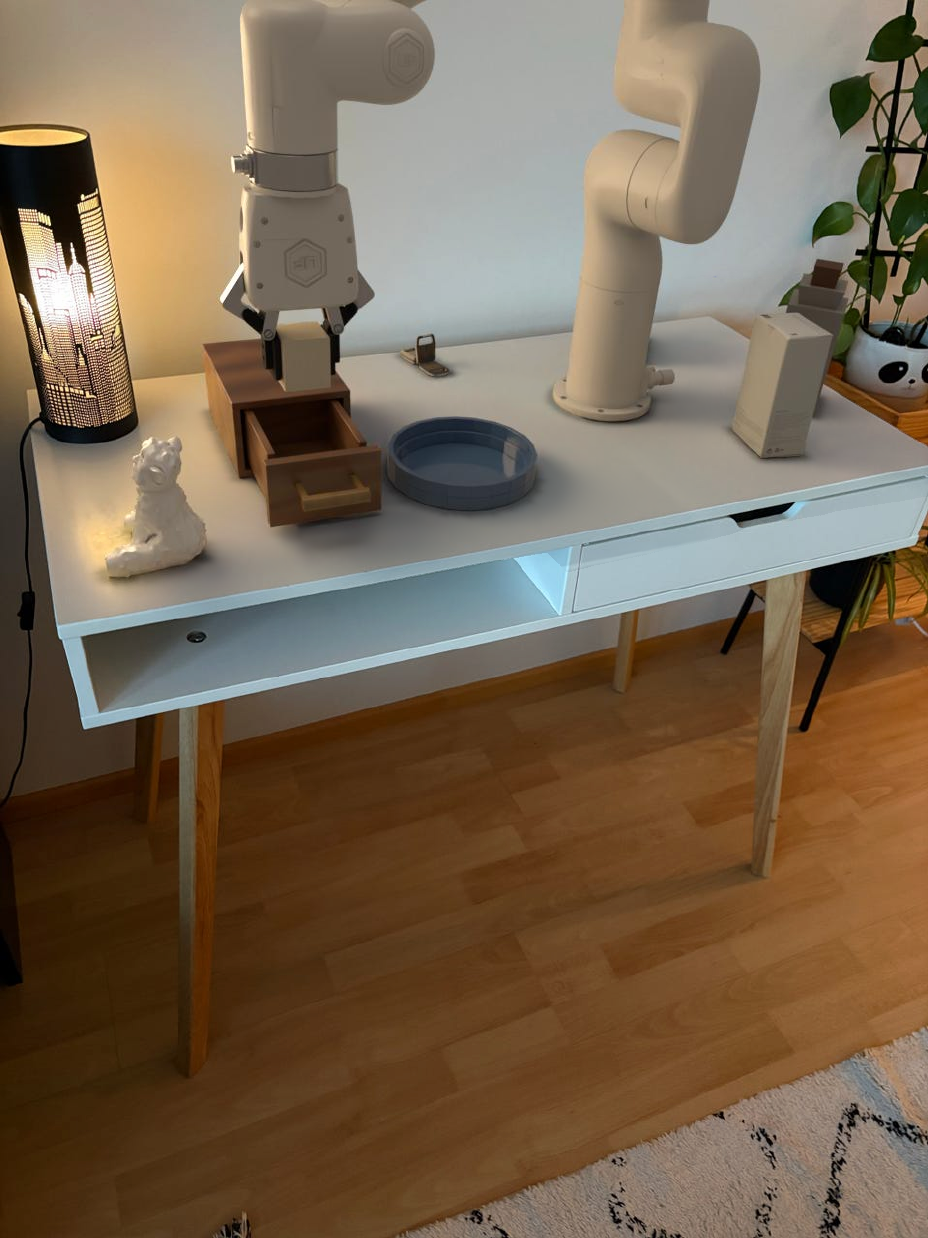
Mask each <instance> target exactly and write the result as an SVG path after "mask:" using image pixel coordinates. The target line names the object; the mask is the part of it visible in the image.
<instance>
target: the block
mask: <svg viewBox="0 0 928 1238" xmlns="http://www.w3.org/2000/svg"><path fill="white" fill-rule="evenodd" d="M276 331H277V337H278V338H279V340H280V342H281V355H282V374H283V379H281V380H280V381H279V382H280V384H281V386H282V387H283V389H284V391H285V392H293V391H303V390H313V389H322V388H331V366H330V337H329V336H328V335H327V333H326V332H325V331H324V330H323V328H322V327H321V324H320V322H318V320H314V321H299V322H287V323H277V328H276Z"/></svg>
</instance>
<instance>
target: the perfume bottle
mask: <svg viewBox="0 0 928 1238" xmlns="http://www.w3.org/2000/svg"><path fill="white" fill-rule="evenodd" d="M844 265H845V264H844V262H841V261H833V260H828V259H827V260H826V259H823V258H816V260H815V263H814V265H813V270H812V274H810V273H805V272H804V273H803V275H802V277H801V279H800V282H799V285H798V288H794V289H793V290H792V293H791V296H790V299H789V301H788V303H787V306H786V311H785V313H799V314H801V315H802V316H804V317H805V318H807V319H808V320H810V321H811V322H813V323H814V324H816V325H818V326H819V327H821V328H822V329H824V330H826V331H828V332H829V333H831V334H832V335H833V337H832V340H831V344H830V348H829V352H828V356H827V360H826V364H825V368H824V372H823V376H822V380H821V384H820V388H819V392H818V396H817V400H816V404H815V408H814V412H813V416H812V418H815V417H814V416H815V414H816V410H817V407H818V403H819V401H820V397H821V394H822V391H823V387H824V384H825V382H826V381H825V380H826V377H827V374H828V371H829V368H830V364H831V361H832V357H833V354H834V350H835V348H836V344H837V341H838V338H839V335H840V331H841V327H842V324H843V321H844V318H845V314H846V311H847V307H848V303H849V299H850V298H849V297H844V296H845V294H846V290H847V287H848V283H849V280H845V279H840V277H841V274H842V271H843V268H844Z"/></svg>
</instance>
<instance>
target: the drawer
mask: <svg viewBox="0 0 928 1238" xmlns="http://www.w3.org/2000/svg"><path fill="white" fill-rule="evenodd" d="M240 415H241V427H242V438H243V449H244V454H245V456H246V459H247V461H248V463H249V465H250V467H251V469H252V471H253V473H254V475H255V476H254V478H255V479H256V481H257V484H258V486H259V488H260V490H261V492H262V494H263V496H264V498H265V502H266V503H265V505H266V517H267V523H268V525H269V527H270V528H276V527H281V526H288V525H294V524H301V523H308V522H313V521H320V520H325V519H326V520H327V519H332V518H333V519H334V518H339V517H346V516H352V515H356V514H358V515H359V514H363V513H370V512H377V511H381V510H382V452H383V451H382V449H381V447H380V446H379V445H378V444H373V445H367V444H368V443H367V440H366V438H365V437H364V435H363V434H362V432H361V431H360V430H359V428H358V427H357V425H356V424H355V422H354V421H353V420H352V417H351V418H350V417H349V416H348V414H347V413H346V411H345V410H344V408H343V407H342V406H341V404H340V403H339V401H338V400H337V398H336V399H327V400H318V401H310V402H301V403H292V404H283V405H275V406H266V407H257V408H249V409H240Z"/></svg>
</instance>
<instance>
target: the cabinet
mask: <svg viewBox="0 0 928 1238" xmlns="http://www.w3.org/2000/svg"><path fill="white" fill-rule="evenodd" d="M201 348H202V359H203V365H204V375H205V384H206V385H205V386H206V393H207V402H208V403H207V404H208V411H209V415H210V417H211V419H212V422H213V423H214V426H215V428H216V431H217V433H218V435H219V438H220V439H221V441H222V444H223V446H224V448H225V451H226V453H227V455H228V458H229V459H230V461H231V463H232V467H233V468H234V470H235V472H236V475H237V477H238V478H246V477H247V478H248V477H255V475H254V473H253V471H252V469H251V467H250V465H249V463H248V461H247V459H246V456H245V454H244V449H243V438H242V427H241V415H240V409H249V408H257V407H266V406H275V405H283V404H292V403H301V402H310V401H318V400H327V399H336V398H337V400H338V401H339V403H340V404H341V406H342V407H343V408H344V410H345V411H346V413H347V414H348V416H349V417H350V418H351V419H352V411H351V409H352V408H351V405H352V404H351V389H350V388H349V387H348V385H347V383H345V381H344V380H343V378H342V377H341V376H340V374H339V372H337V371H336V374H335V375H331V388H322V389H313V390H303V391H293V392H285V391H284V389H283V387H282V386H281V384H280V382H279V381H275V379H274V378H273V376H272V374H271V373H270V371H269V369H267V370H265V368H264V366H263V362H262V348H261V338H253V339H241V340H240V339H239V340H229V341H218V342H207V343H202V344H201Z"/></svg>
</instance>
